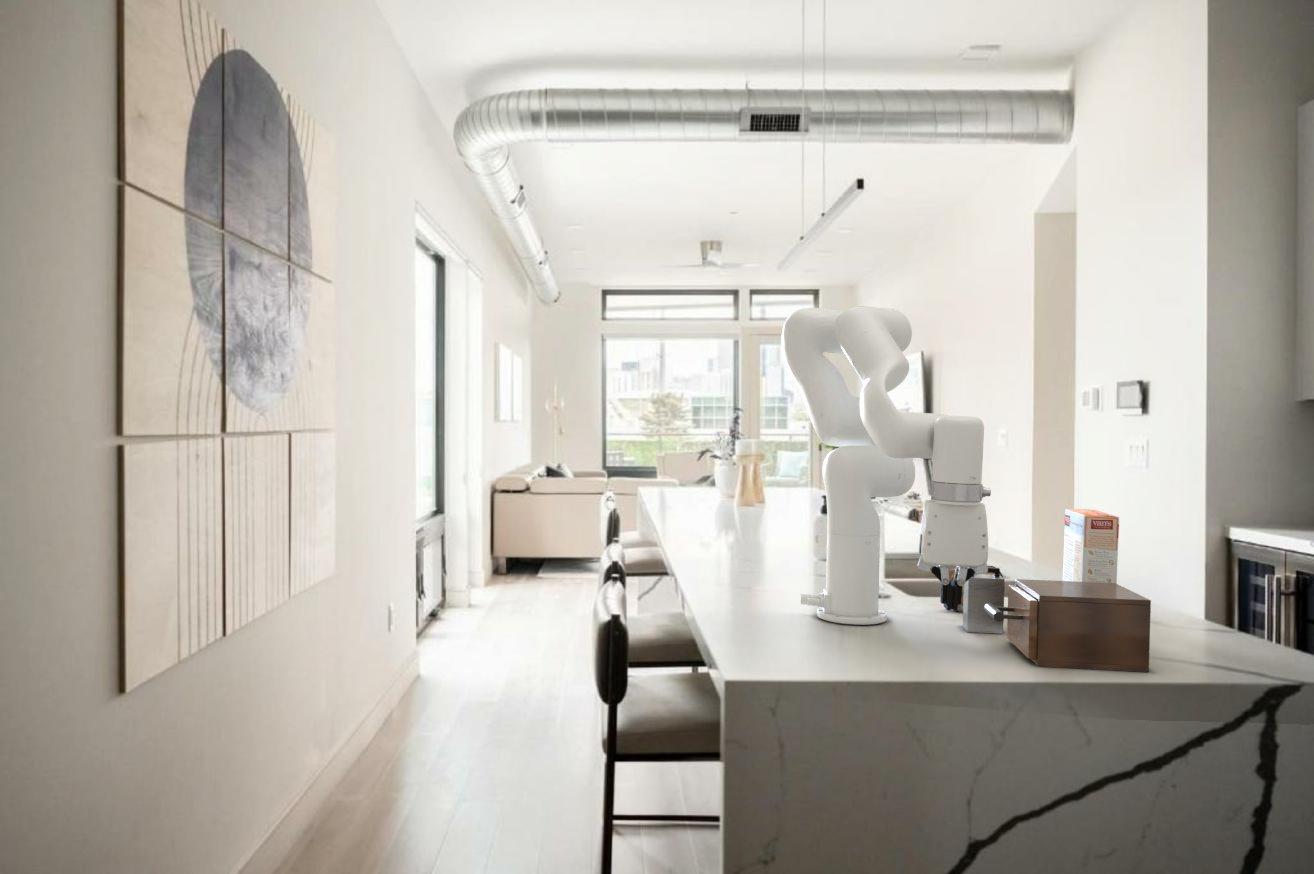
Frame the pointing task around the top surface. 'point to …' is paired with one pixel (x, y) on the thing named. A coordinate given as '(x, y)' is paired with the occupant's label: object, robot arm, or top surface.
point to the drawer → (1019, 619)
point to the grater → (983, 602)
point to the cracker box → (1090, 546)
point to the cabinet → (1090, 625)
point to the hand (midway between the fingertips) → (950, 608)
